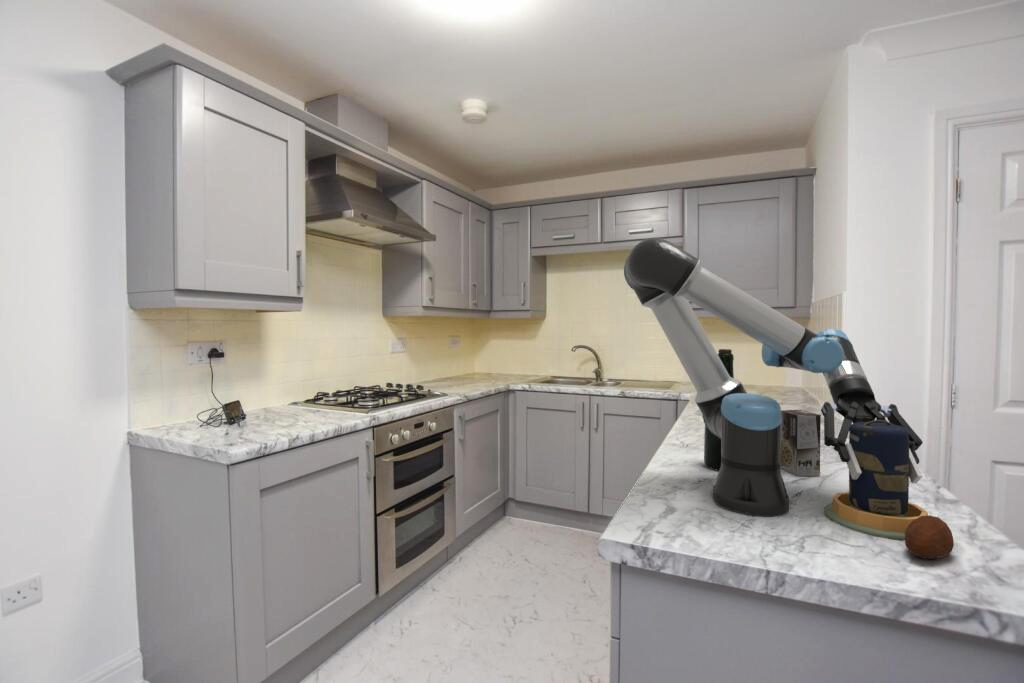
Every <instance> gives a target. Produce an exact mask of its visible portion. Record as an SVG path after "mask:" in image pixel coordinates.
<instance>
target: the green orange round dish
mask: <svg viewBox="0 0 1024 683" xmlns="http://www.w3.org/2000/svg"><path fill="white" fill-rule="evenodd" d="M823 514H824V516H825V517H826V518H827V519H829V520H830V521H832V522H833V521H834V523H835V522H836V523H835V524H837V523H838V524H837V525H839V524H840V526H842V527H844V526H845V527H844V528H846V527H847V529H850V530H852V531H855V532H859V533H862V534H866V535H870V536H874V537H880V538H885V539H890V540H899V541H905V531H906V529H907V527H908V525H909V524H910V523H911V522H912V521H913V520H915V519H917V518H919V517H921V516H928V515H929V514H928V511H927V510H925V509H924V508H922V507H921V506H919V505H918V504H915V503H913V502H909V501H908V511H907V512H906V513H905V514H902V515H895V516H890V515H882V514H876V513H872V512H868V511H865V510H862V509H859V508H857V507H855V506H854V505H852V504H851V502H850V501H849V491H847V492H836V494H835V495H833V496H832V497H831V502H829V503H826V504H825V505H824V506H823Z"/></svg>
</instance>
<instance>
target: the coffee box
mask: <svg viewBox="0 0 1024 683" xmlns="http://www.w3.org/2000/svg"><path fill="white" fill-rule="evenodd" d="M781 415H782V422H781V466H780V468H781V469H782V468H783V470H784V471H786V472H788V473H789V474H790V473H791V474H792V475H795V476H796V477H820V476H821V421H822V420H821V416H822V415H821V414H817V413H814V412H809V411H806V410H802V409H785V410H782V409H781Z"/></svg>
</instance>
